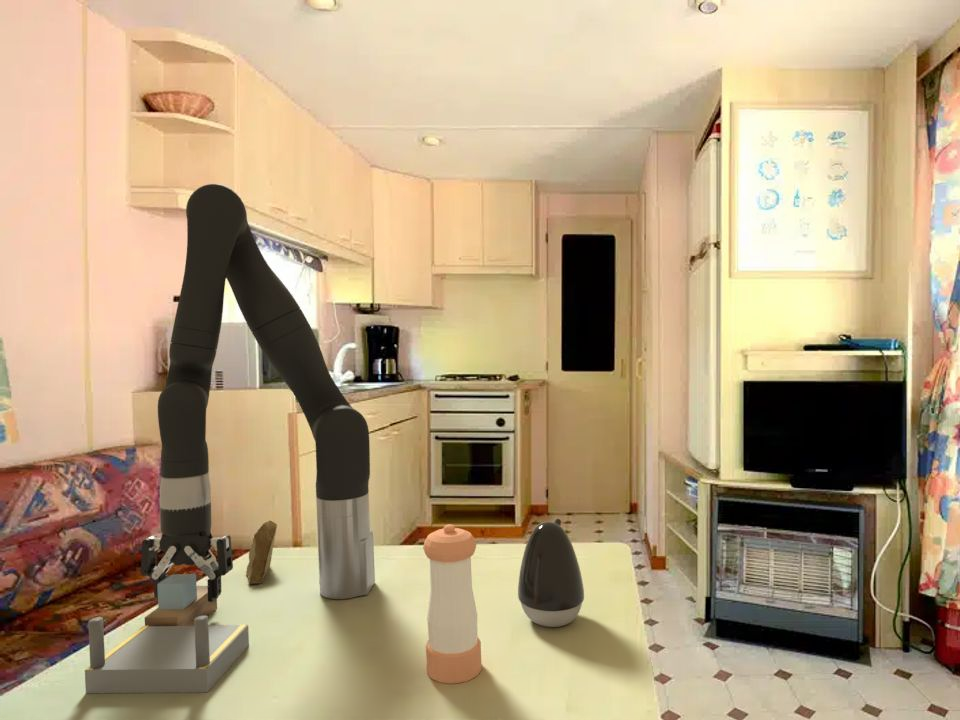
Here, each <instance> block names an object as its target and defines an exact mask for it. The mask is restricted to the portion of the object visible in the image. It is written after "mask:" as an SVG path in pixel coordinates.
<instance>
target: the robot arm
mask: <svg viewBox="0 0 960 720" xmlns="http://www.w3.org/2000/svg"><path fill="white" fill-rule="evenodd" d="M247 213H248V212H247V209H246V206H245V204H244V202H243V201H242V198H241V197H240V196H239V195H238V194H237V192H236V191H234V190H233V189H232V188H230V187H228V186H226V185H224V184H219V183H207V184H205V185H203V186H200V187H198V188H196V189H195V190H194V191H193V192H192V194H191V195H190V196H189V198H188V200H187V202H186V209H185V215H186V221H187V223H186V224H187V225H186V226H187V228H186V232H187V236H186V237H187V238H186V239H187V240H186V242H187V243H186V257H185V258H186V259H185V264H184V265H185V266H184V274H183V278H182V284H181V290H180V293H179V298H178V303H177V307H176V312H175V316H174V323H173V327H172V331H171V338H170V344H169V351H168V353H169V367H168V372H167V376H166V381H165V386H164V389H163V390H161V392H160V395H159V396H158V400H157V419H158V431H159V436H160V441H161V451H160V452H161V453H160V471H161V472H160V473H161V474H160V475H161V477H160V486H159V511H160V513H159V516H160V517H159V520H160V521H159V522H160V528H159V529H160V533H161V537H158V536H157V535H156V534H153V535H151V536H148V537H145V538H144V539H143V540H142V542H141V558H140V562H141V563H140V574H141V575H142V576H143V577H146V576H149V577H150V578H151V579H152V580H153V596H154V598H155V599H156V601H157V603H158V587H157V584H158V583H160V582H161V581H163V580H164V579H166V578H167V577H169V575H168V574H167V573H168V572H169V570H170V569H171V568H172V566H173V565H174V566H182V565H186V566H194V565H196V566H197V568H198V569H199V570H201V571H203V572H204V574H205V575H206V577H207V578H208V579H207V582H206V583H207V586H208V602H214V601H215V600H216V599H217V600H218V598H219V596H221V594H222V576H225V575H227V574H228V573H229V572H230V571H232V570H233V567H234V563H233V551H232V550H233V549H232V539H231V536H230V535H229V534H225V535H223V536H220V537H219V536H218V537H213V535H212V532H211V531H212V491H211V490H212V487H211V480H210V473H209V472H210V470H209V469H210V468H209V464H210V463H209V447H208V443H207V441H206V432H207V429H206V428H207V427H206V426H207V408H208V404H209V399H210V390H211V382H212V375H213V374H212V373H213V372H212V371H213V365H214V364H215V358H216V355H217V349H218V345H219V341H220V334H221V328H222V322H223V311H224V300H225V299H224V297H225V287H226V286H225V285H226V281H227V282H228V285H230V288H231V290H232V293H233V296H234V298H235V301H236V303H237V305H238V308H239V310H240V312H241V314H242V316H243V318H244V320H245V322H246V325H247V326H248V328H249V330H250V332H251V334H252V335H253V338H254V339H255V340H256V343H257V344H258V345H259V347H260V349H261V351H262V352H263V353H264V354H263V355H265V357H266V358H267V360H268V362H270V364H271V365H272V367H273V368H274V370H275V372H276V373H277V374H278V375H279V376H280V378H281V379H282V380H283V382H284V383H285V385H286V386H288V388H289V390H290V391H291V392H292V393H293V395H294V397H295V399H296V400H297V403H298V404H299V406H300V409H301V411H302V412H303V415H304V417H305V419H306V422H307V424H308V426H309V429H310V431H311V434H312V436H313V440H314V443H315V462H316V465H315V466H316V475H315V476H316V478H315V498H316V499H315V500H316V501H315V502H316V529H317V551H318V552H317V554H318V574H319V575H318V582H319V584H318V585H319V594H320V595H321V596H323V597H324V598H326V599H330V600H331V599H332V600H345V599H353V598H356V597H360V596H368V595H369V593H370V591H371V590H372V588H373V586H374V585H375V583H376V576H375V575H376V571H375V569H376V568H375V545H374V532H373V531H372V530H371V526H370V525H371V524H370V522H371V520H370V519H371V518H370V498H369V497H370V495H369V494H370V493H369V492H370V491H369V489H370V488H369V483H370V482H369V481H370V477H371V460H370V459H371V456H370V455H371V454H370V453H371V452H370V449H371V448H370V446H371V445H370V432H369V431H370V430H369V426H368V425H369V424H368V423H367V420H366V418H365V417H364V416H363V414H362V413H360V411H358V410H357V409H355V408H353V407H352V405H351V404H350V403H349V402H348V400H347V398H346V397H345V396H344V394H343V393H342V391H341V389H339V387H338V386H337V384H336V382H335V381H334V379H333V378H332V376H331V374H330V371H329V369H328V366H327V363H326V360H325V358H324V355H323V351H322V349H321V348H320V345H319V342H318V340H317V339H318V338H316V335H315V333H314V331H313V328H312V327H311V325H310V323H309V321H308V320H307V317H306V315H305V314H304V312H303V310H302V309H301V306H300V305H299V304H298V302H297V301H296V299H295V298H294V296H293V294H292V293H291V292H290V291H289V289H288V288H287V286H286V285H285V283H283V282H282V280H281V278H280V277H278V275H277V274H276V273H275V272H274V270H272V269H271V267H270V265H269V264H268V262H267V261H266V259H265V257H264V255H263V254H262V251H261V250H260V247H259V246H258V243H257V241H256V239H255V237H254V235H253V233H252V229H251V228H250V225H249V222H248V214H247ZM212 546H213V548H214V551H216V554H217V555H216V556H217V558H216V556H215V555H214V553H213V552H212V551H211V550H210V549H211V547H212ZM160 548H161V550H162V551H163V553H164V556H163V557H162V558H161V560H160V561H159V562H158V550H159V549H160Z"/></svg>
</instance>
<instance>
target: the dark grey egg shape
mask: <svg viewBox="0 0 960 720" xmlns="http://www.w3.org/2000/svg"><path fill="white" fill-rule="evenodd" d="M561 525H562V520H561V519H559V518H556V519H555V520H554V521H544V522H543V521H542V522H541V523H539V524H537V525H536V526H535V527H534V528H533V529H532V531H531V533H530V535H529V537H528V540H527V542H526V545H525V547H524V551H523V556H522V559H521V564H520V568H519V575H518V585H517V598H518V601H519V602H520V604H521V608H522V610H523V612H524V613H525V615H526V616H527V617H528V619H529V620H531V621H532V622H533V623H535V624H536V625H539V626H542V627H545V628H546V627H547V628H557V627H562V626H563V627H564V626H565V625H568V624H570V623H571V622H573V621H574V620H575V619H576V618H577V616H578V615H579V613H580V611H581V608H582V604H583V602H584V599H585V589H584V583H583V577H582V572H581V569H580V565H579V564H580V563H579V561H578V557H577V554H576V551H575V549H574V546H573V543H572V541H571V539H570V538H569V536H568V534H567V532H566V530H565V529H564V528H563V527H562V526H561Z"/></svg>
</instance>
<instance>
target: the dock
mask: <svg viewBox="0 0 960 720" xmlns="http://www.w3.org/2000/svg"><path fill="white" fill-rule="evenodd" d="M87 625H88V644H89V666H88V667H87V668H86V669H84V682H85V694H140V693H141V694H147V693H148V694H150V693H151V694H152V693H153V694H154V693H155V694H156V693H160V694H161V693H163V694H164V693H165V694H166V693H168V694H169V693H171V694H172V693H208V692H209V691H210V690H211V689H212V688H213V687H214V686H215V684H217V682H218V681H219V680H220V679H221V678H222V677H223V675H225V673H226V672H227V671H228V670H229V669H230V667H232V665H233V664H234V663H235V662H236V661H237V659H238V658H239V657H241V655H242V654H243V653H244V651H245V650H246V649H247V648H249V646H250V637H249V635H250V633H249V625H248V624H243V623H242V624H232V625H231V624H225V625H224V624H223V625H216V624H215V625H209V615H208V616H199V617H196V618H195V619H194V626H145V625H143V626H142V627H140V628H138V629H137V630H136V631H135V632H133V633H132V634H131V635H129V637H127V638H125V639H124V640H123V641H122V642H120V643H119V644H118V645H117V644H116V646H114V648H112V649H111V650H109V651H108V652H107V653H106V654H105V635H104V633H105V632H104V617H102V616H98V617H94V618H91V619H89V620H88V623H87Z"/></svg>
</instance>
